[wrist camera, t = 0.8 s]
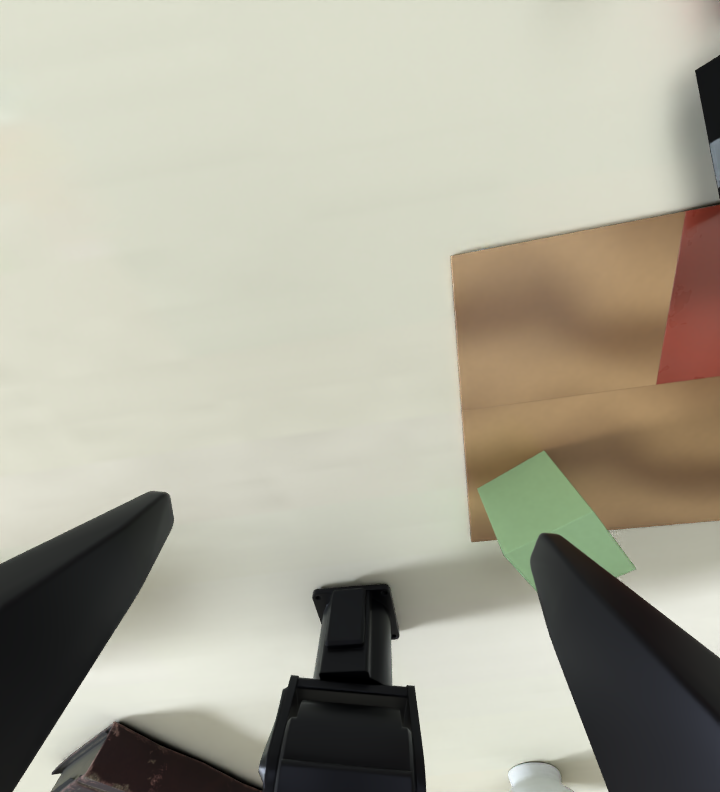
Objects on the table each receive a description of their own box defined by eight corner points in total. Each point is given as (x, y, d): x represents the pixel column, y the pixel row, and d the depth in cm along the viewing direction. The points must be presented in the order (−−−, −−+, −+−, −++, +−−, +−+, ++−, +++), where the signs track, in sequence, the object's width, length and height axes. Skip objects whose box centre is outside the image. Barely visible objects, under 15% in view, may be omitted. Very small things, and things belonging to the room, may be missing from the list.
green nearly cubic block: (580, 499, 23) (636, 569, 18) (514, 532, 24) (549, 605, 19) (544, 450, 22) (593, 511, 17) (476, 488, 23) (503, 555, 18)
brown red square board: (773, 513, 23) (776, 515, 23) (471, 540, 25) (471, 542, 25) (903, 168, 15) (909, 168, 15) (450, 255, 18) (451, 255, 17)
